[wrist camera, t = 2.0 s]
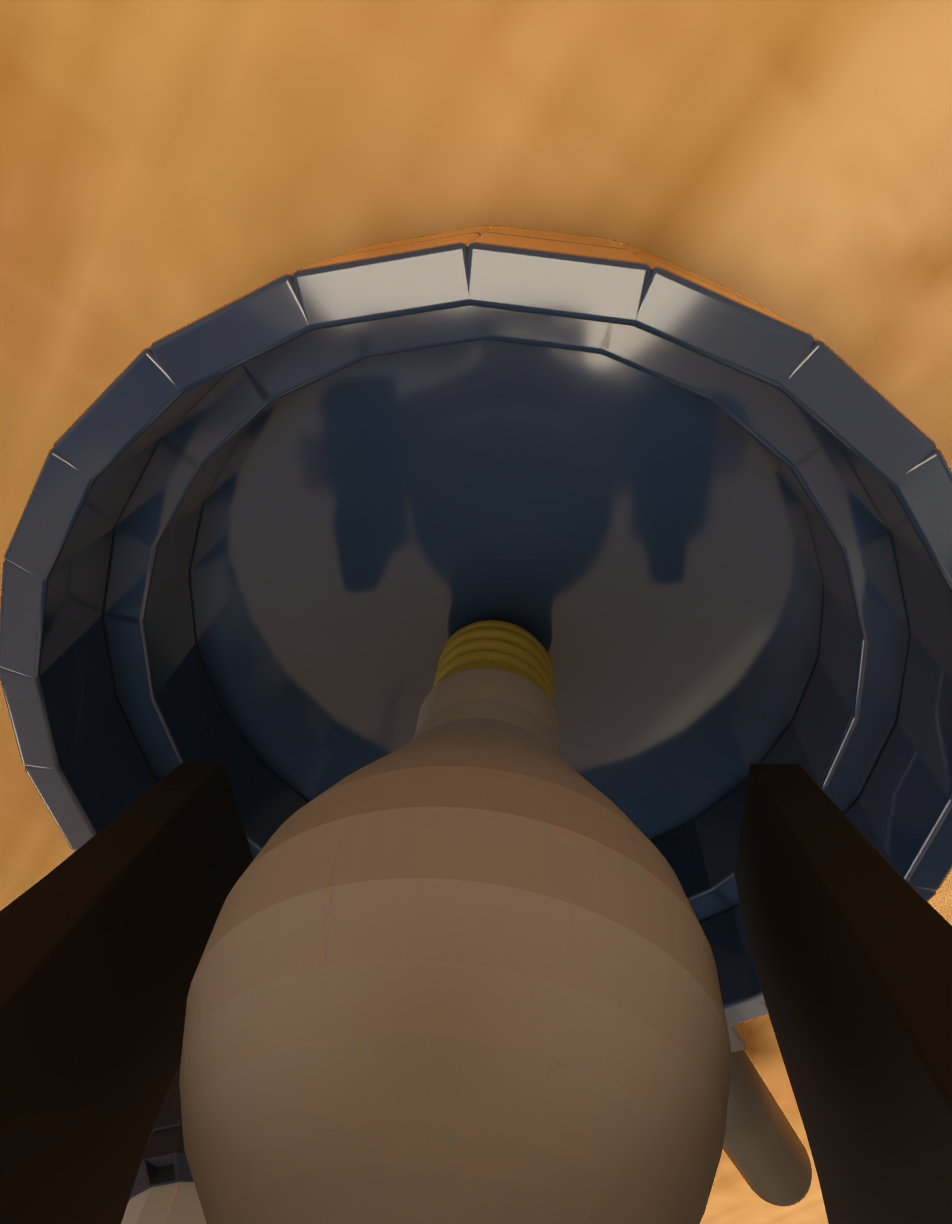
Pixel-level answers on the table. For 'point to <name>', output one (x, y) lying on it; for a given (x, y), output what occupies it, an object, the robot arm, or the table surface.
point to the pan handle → (762, 1134)
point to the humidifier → (165, 1172)
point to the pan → (496, 552)
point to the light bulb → (458, 990)
